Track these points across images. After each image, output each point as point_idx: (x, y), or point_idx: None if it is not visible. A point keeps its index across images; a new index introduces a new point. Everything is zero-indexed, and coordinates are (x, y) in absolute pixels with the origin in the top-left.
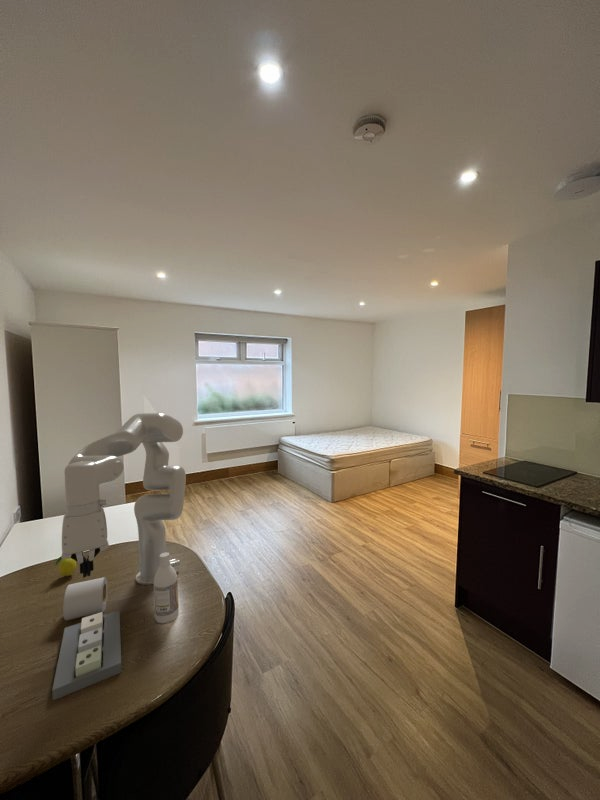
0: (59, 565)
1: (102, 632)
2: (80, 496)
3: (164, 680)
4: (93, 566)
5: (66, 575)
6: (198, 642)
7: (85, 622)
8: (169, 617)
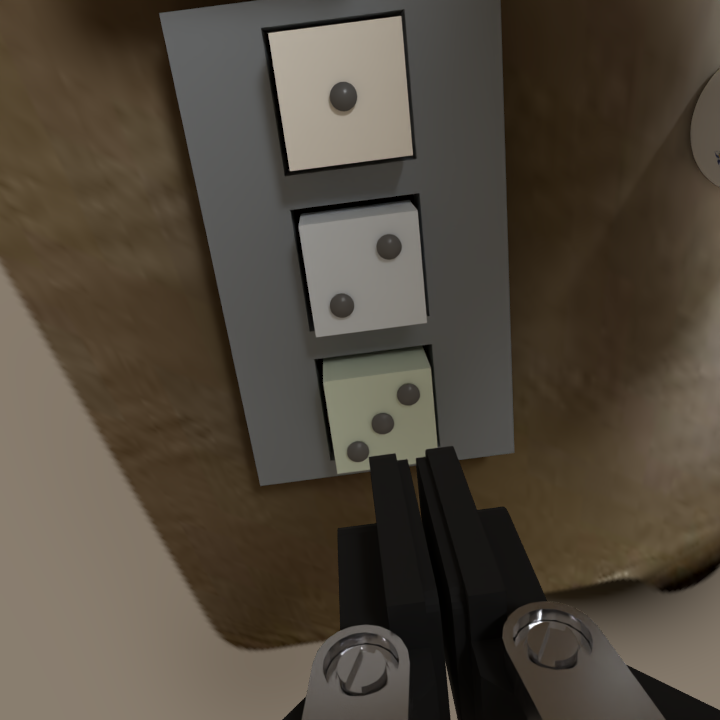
0: None
1: (411, 188)
2: None
3: (648, 526)
4: (509, 518)
5: None
6: None
7: (304, 103)
8: None
